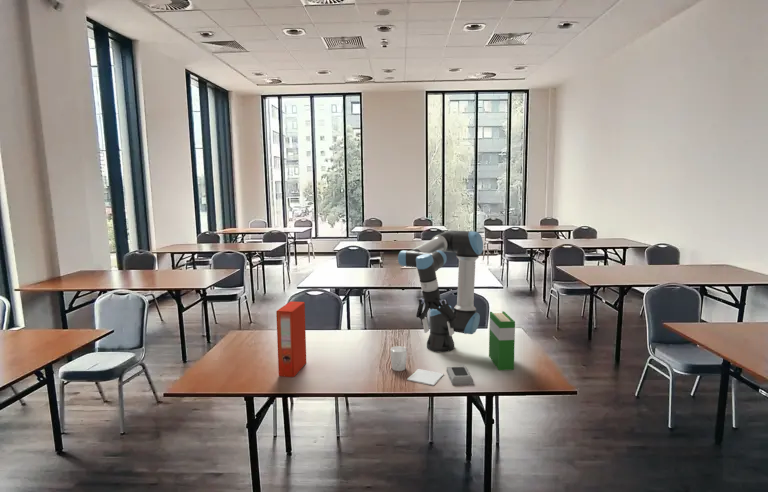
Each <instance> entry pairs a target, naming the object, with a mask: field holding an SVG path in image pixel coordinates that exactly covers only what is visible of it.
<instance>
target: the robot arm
mask: <svg viewBox="0 0 768 492" xmlns="http://www.w3.org/2000/svg"><path fill="white" fill-rule="evenodd" d="M483 251H484V240H483V238H482V234H481V233H480V232H478V231H472V230H470V231H469V230H447V231H444V232H441V233H438V234H436V235H434V236H433V237H432V238H431V239H430V240H429V241H426V242H425V243H422V244H421V245H419V246H416V247H415V248H412V249H410V250H400V251H399V253H398V255H397V261H398V264H399V266H401V267H405V268H407V267H408V268H416V271H417V274H418V278H419V283H420V287H421V290H422V291H421V294H422V297H420V298H419V299H418V306H417V311H416V318H419V319H420V322H421V326H422V327H423V332H424V333H425V334H427V333H428V332H429V335H428V338H427V342H426V348H427V349H428V350H430V351H431V352H438V353H444V352H445V353H447V352H451V351H453V350H454V349H455V342H454V341H455V340H454V339H453V335H454V334H455V333H461V334H464V335H467V334H468V335H473V334H475V333H476V331H477V330H478V328H479V324H480V320H481V319H480V318H481V317H480V313H478V312H477V307H475V305H474V301H475V299H474V297H475V282H476V281H475V279H476V278H475V277H476V261H477V260H478V259H479V257H480V255H482V254H483ZM446 252H447V253H456V258H457V259H458V273H457V275H458V276H457V298H456V304H455V306H454V307H453V308H452V306H451V305H450V304H449V303H448V300H447V298H445V299H441V293H440V289H439V283H438V279H437V278H438V277H437V271H438V270H440V269H441V268H443V267H444V265H446V263H447V259H448V258H447V257H448V256H447V255H446ZM424 305H425V307H424ZM428 312H429V323H428V318H427V317H426V315H427V313H428Z"/></svg>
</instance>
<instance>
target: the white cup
mask: <svg viewBox="0 0 768 492" xmlns="http://www.w3.org/2000/svg"><path fill="white" fill-rule="evenodd" d="M407 350H408V349H407V348H406V347H405V346H402V345H395V346H391V347H390V350H389V351H390V362H391V369H392V370H393V371H395V372H402V371H405V370H406V364H407Z"/></svg>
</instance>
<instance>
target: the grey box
mask: <svg viewBox="0 0 768 492" xmlns="http://www.w3.org/2000/svg"><path fill="white" fill-rule="evenodd" d="M445 371H446V373H447V375H448V378H449V381H450V383H451V385H452V386H457V385H459V386H460V385H462V386H463V385H467V386H468V385H474V379H473V377H472V375H471V373H470V371H469V369H468V368H467V366H465V365H463V366H461V365H460V366H458V365H457V366H447V367H446V370H445Z"/></svg>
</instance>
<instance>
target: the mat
mask: <svg viewBox="0 0 768 492" xmlns="http://www.w3.org/2000/svg"><path fill="white" fill-rule="evenodd" d="M443 376H444V373H441V372H437V371H432V370H426V369H421V368H417V369H416V370H415V372H414V373H412V374H411V375H410V376H409V377H407V379H406V381H409V382H413V383H419V384H423V385H427V386H428V385H429V386H433V387H434V386H435V385H436V384H437V382H438V381H440V380H441V379H442V377H443Z"/></svg>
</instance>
